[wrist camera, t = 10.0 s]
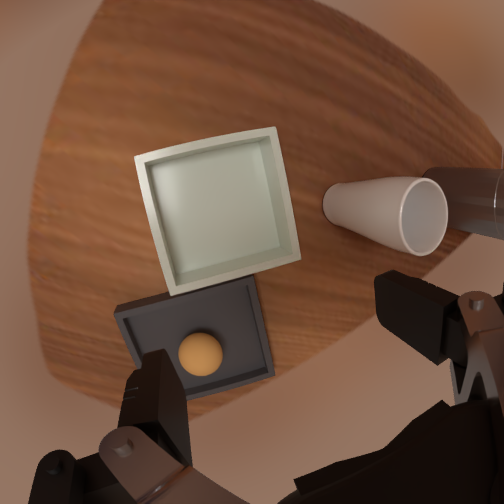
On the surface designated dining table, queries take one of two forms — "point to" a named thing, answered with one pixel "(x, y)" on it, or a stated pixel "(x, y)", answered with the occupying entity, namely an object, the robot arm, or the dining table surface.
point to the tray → (203, 321)
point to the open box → (218, 208)
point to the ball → (200, 354)
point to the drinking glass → (391, 211)
